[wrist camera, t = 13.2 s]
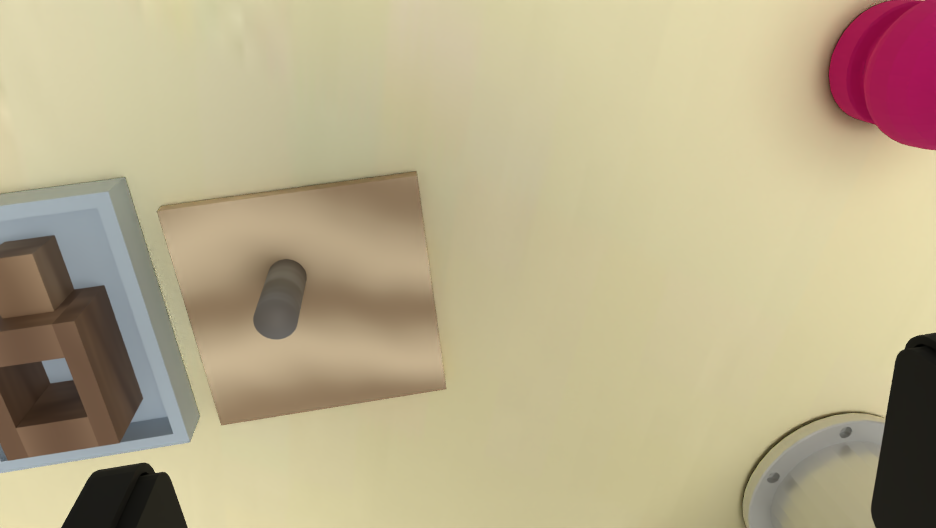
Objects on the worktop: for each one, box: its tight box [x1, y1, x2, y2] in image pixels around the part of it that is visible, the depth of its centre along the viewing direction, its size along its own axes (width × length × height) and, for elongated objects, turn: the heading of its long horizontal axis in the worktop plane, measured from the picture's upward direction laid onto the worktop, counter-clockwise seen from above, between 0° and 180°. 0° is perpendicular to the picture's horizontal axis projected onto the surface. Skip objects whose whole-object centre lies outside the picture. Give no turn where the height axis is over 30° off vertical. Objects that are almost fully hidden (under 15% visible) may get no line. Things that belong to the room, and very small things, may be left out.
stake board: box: [157, 171, 446, 425], centre depth 36 cm, size 13×13×6 cm
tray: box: [0, 177, 200, 473], centre depth 36 cm, size 14×10×2 cm
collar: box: [0, 235, 143, 461], centre depth 34 cm, size 5×10×4 cm, turn 6°
